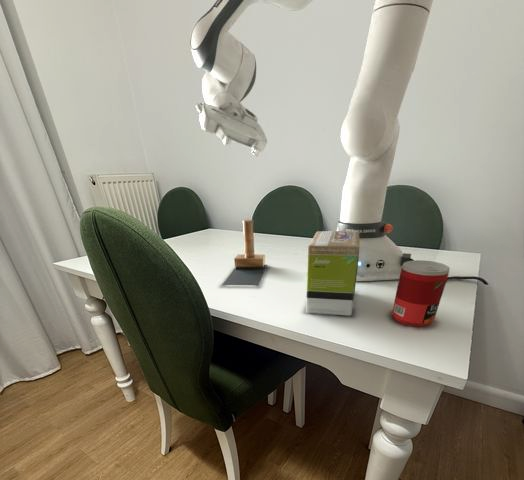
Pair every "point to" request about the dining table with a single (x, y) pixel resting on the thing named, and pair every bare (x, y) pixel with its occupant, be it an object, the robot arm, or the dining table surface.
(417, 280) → the canned food
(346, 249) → the tea box
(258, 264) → the brush
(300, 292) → the dining table surface
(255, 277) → the mat
